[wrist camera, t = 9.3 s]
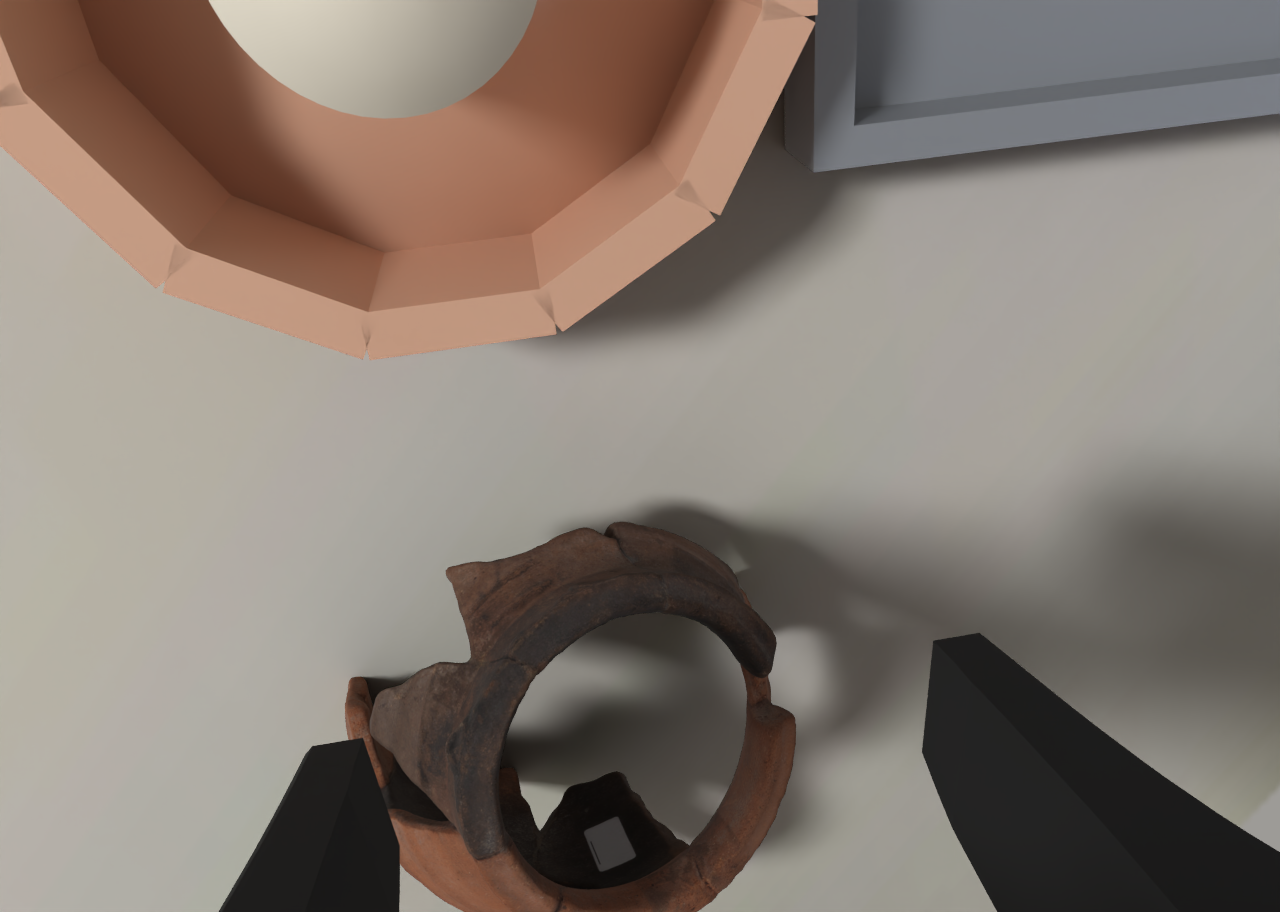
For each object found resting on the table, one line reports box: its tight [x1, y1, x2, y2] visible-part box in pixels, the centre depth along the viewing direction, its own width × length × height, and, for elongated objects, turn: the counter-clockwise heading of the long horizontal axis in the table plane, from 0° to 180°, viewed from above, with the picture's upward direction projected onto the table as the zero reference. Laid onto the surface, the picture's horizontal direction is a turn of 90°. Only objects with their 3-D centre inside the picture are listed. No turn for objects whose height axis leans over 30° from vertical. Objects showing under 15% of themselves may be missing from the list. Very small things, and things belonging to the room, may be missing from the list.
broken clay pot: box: [345, 522, 796, 912], centre depth 22 cm, size 12×10×8 cm
